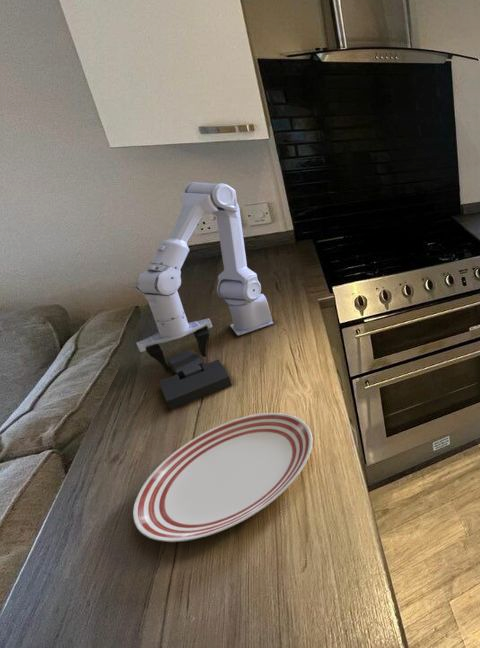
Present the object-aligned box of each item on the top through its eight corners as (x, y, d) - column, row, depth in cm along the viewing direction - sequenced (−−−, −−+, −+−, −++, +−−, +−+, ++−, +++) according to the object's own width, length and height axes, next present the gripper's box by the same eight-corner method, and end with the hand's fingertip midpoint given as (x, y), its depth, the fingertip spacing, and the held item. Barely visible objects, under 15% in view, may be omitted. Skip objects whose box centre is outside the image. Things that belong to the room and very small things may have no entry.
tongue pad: (194, 357, 117) (192, 348, 116) (209, 375, 110) (206, 366, 109) (169, 366, 113) (166, 358, 112) (183, 386, 106) (179, 377, 105)
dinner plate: (120, 589, 64) (113, 574, 63) (152, 459, 86) (147, 446, 84) (324, 499, 78) (321, 486, 76) (307, 407, 99) (304, 395, 98)
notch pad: (221, 367, 113) (218, 359, 112) (231, 384, 106) (229, 376, 105) (161, 389, 104) (158, 381, 104) (169, 410, 98) (166, 401, 97)
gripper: (200, 299, 114) (213, 343, 119) (127, 322, 103) (145, 369, 108) (208, 308, 110) (222, 353, 115) (133, 332, 99) (152, 381, 104)
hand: (185, 362), depth 111 cm, fingers open, 7 cm apart
